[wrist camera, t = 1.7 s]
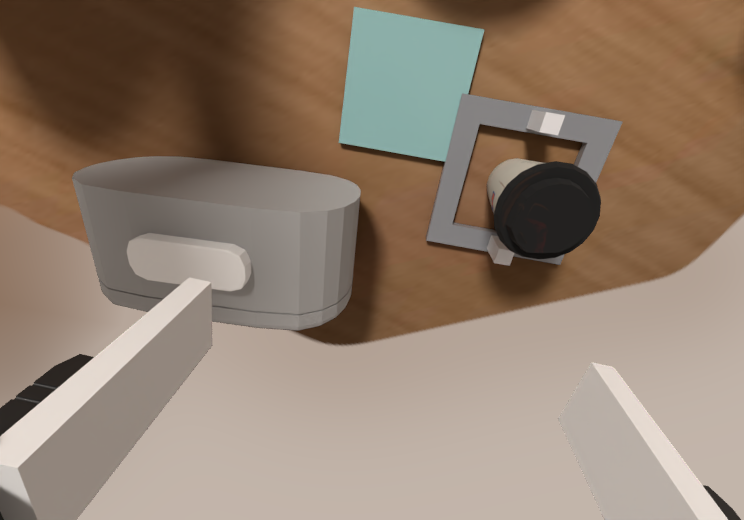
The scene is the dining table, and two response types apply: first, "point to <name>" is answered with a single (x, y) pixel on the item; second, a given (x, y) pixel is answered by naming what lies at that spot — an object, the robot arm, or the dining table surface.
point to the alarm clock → (222, 237)
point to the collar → (515, 117)
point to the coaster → (406, 82)
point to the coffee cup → (542, 206)
